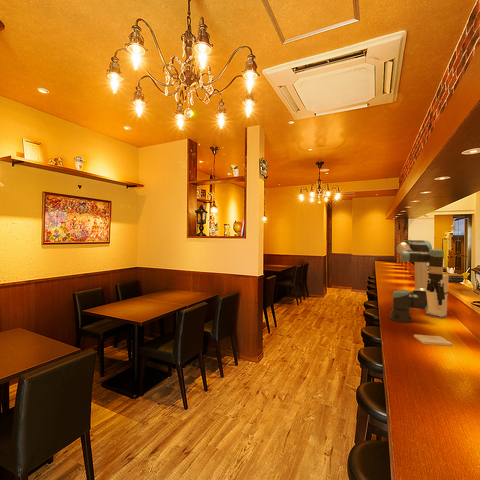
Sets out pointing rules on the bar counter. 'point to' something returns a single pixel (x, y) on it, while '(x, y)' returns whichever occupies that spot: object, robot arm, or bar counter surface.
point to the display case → (444, 305)
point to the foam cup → (432, 302)
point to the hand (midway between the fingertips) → (434, 308)
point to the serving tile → (432, 340)
